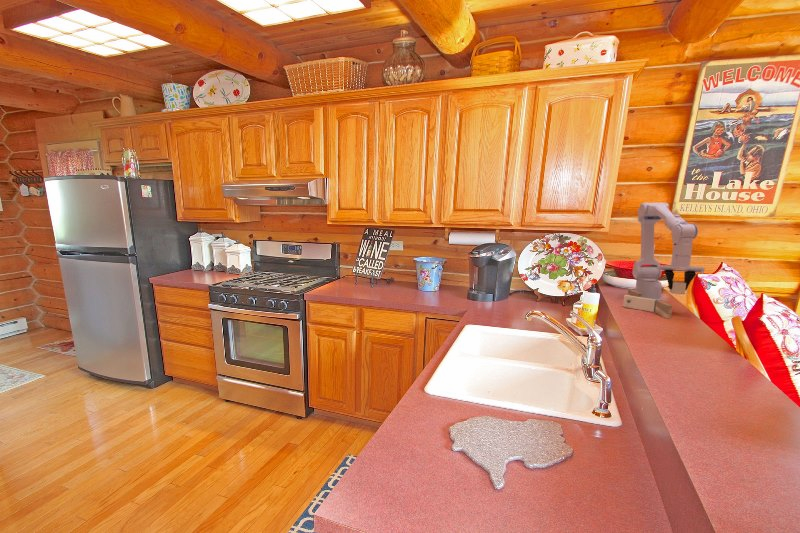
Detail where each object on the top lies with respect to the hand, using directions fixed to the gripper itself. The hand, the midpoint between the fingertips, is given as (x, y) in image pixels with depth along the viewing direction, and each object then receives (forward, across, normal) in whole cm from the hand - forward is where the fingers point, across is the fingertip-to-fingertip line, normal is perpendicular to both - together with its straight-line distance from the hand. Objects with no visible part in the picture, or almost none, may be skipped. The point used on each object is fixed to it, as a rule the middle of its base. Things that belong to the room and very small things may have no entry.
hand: (677, 289), depth 139 cm
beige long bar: (+10, -8, +4) cm, 14 cm away
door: (+10, -12, +1) cm, 15 cm away
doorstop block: (+1, 0, 0) cm, 1 cm away
